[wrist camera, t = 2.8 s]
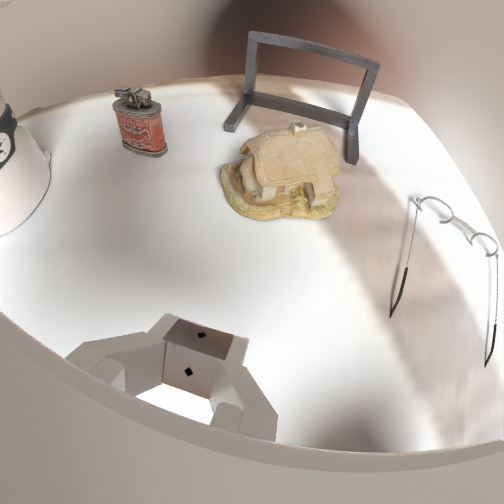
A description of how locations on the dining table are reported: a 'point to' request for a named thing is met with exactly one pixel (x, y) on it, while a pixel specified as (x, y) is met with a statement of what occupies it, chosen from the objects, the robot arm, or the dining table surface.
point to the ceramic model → (284, 175)
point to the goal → (300, 107)
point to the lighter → (139, 122)
